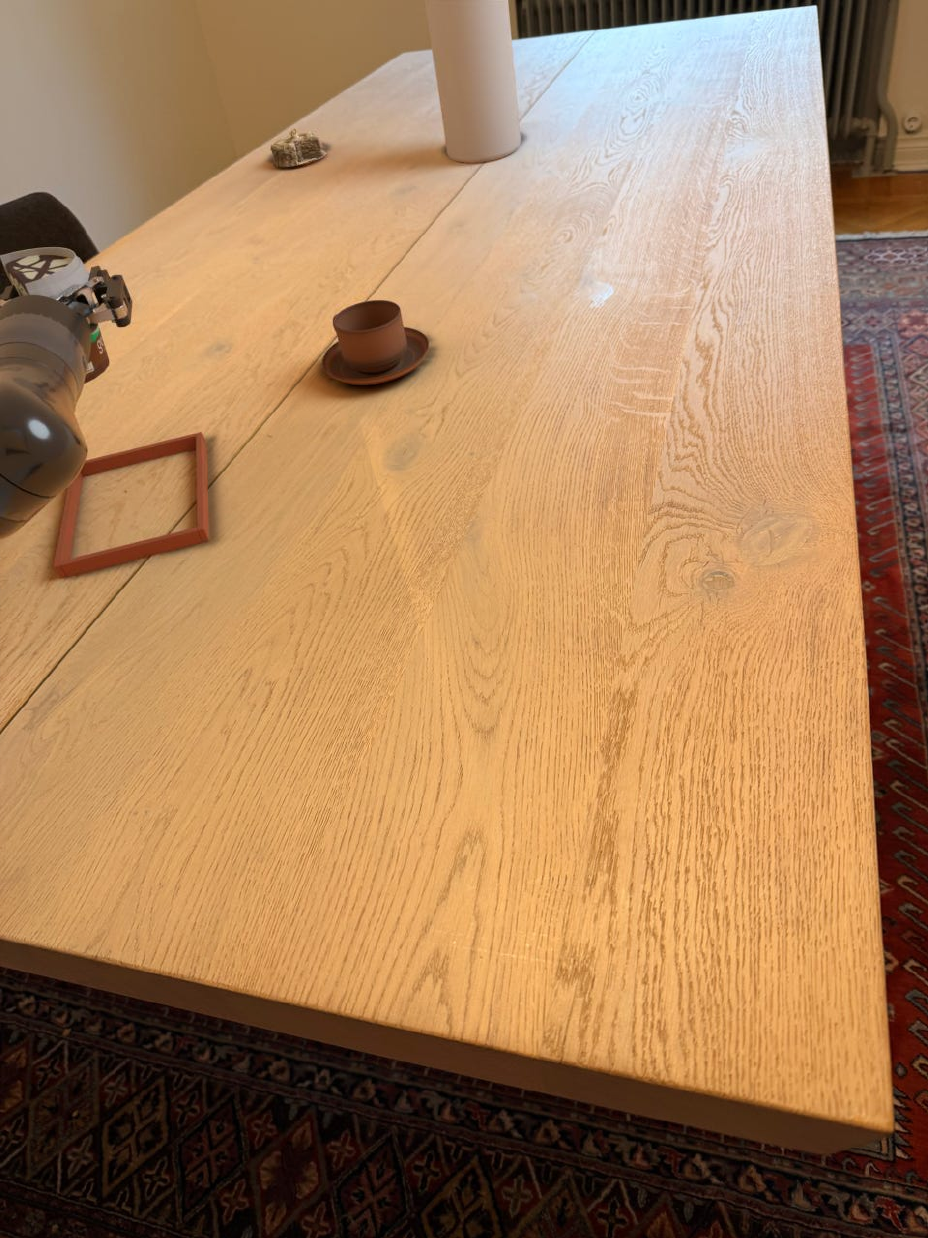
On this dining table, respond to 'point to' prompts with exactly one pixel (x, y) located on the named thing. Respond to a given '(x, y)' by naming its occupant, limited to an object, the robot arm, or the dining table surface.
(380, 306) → the cup and saucer
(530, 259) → the dining table surface
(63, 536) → the square frame
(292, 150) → the cake
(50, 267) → the food container
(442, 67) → the cylinder vase
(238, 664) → the dining table surface
